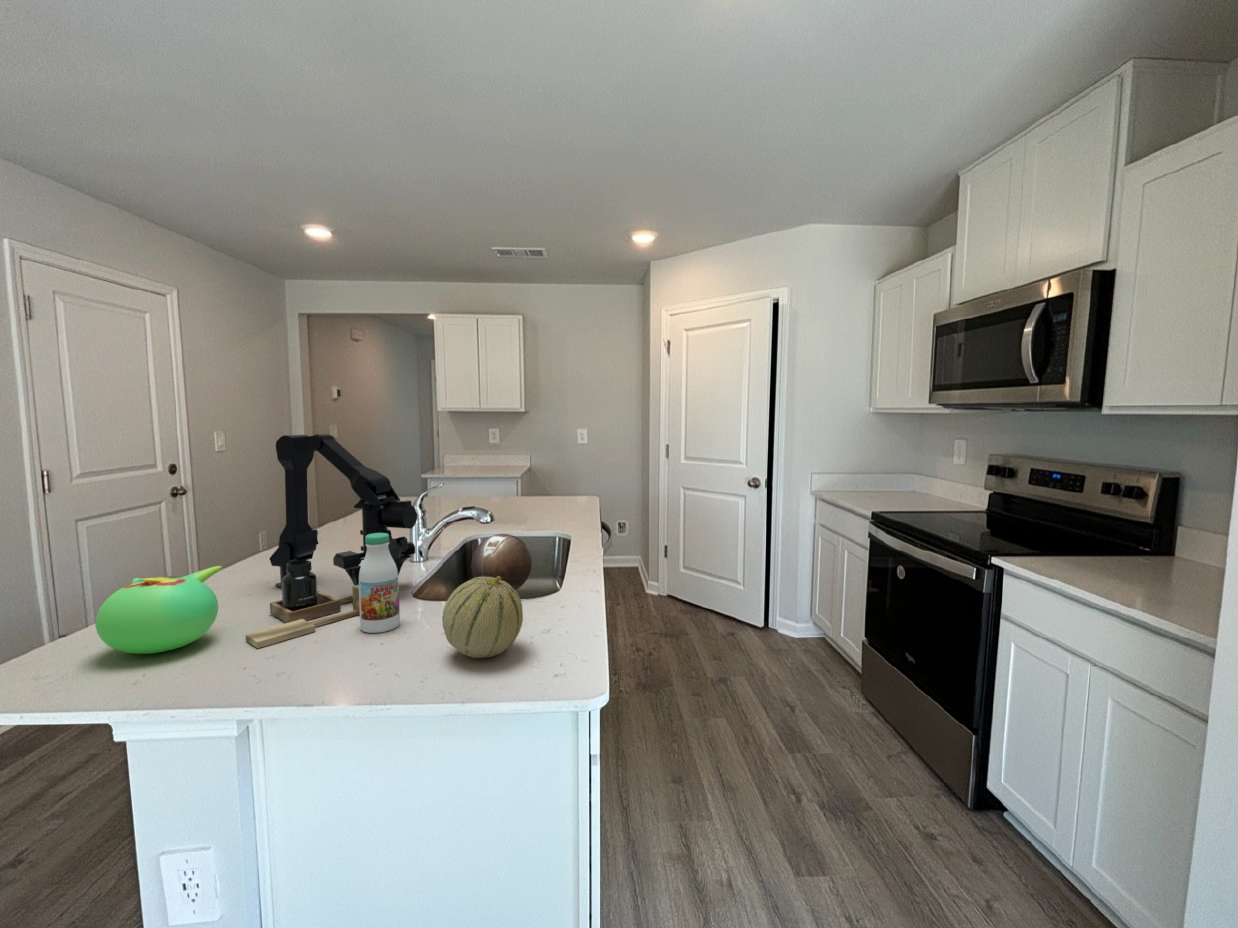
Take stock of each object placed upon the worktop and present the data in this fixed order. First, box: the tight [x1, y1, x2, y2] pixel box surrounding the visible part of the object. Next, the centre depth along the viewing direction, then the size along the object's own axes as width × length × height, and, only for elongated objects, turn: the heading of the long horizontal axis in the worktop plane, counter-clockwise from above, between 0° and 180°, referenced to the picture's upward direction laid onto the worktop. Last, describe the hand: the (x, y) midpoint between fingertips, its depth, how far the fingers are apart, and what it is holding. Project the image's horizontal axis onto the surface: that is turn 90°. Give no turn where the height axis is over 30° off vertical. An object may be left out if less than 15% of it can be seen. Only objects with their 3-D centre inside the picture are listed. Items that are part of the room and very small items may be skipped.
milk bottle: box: [359, 533, 401, 634], centre depth 115 cm, size 8×8×20 cm
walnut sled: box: [269, 590, 353, 623], centre depth 128 cm, size 11×24×6 cm, turn 143°
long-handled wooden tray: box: [244, 585, 360, 649], centre depth 115 cm, size 6×24×6 cm, turn 143°
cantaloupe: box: [441, 576, 524, 659], centre depth 102 cm, size 15×15×15 cm
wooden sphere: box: [470, 533, 533, 591], centre depth 138 cm, size 15×15×15 cm
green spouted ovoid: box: [95, 565, 223, 655], centre depth 104 cm, size 18×17×15 cm
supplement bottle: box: [281, 559, 319, 612], centre depth 122 cm, size 7×7×12 cm
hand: (377, 587), depth 137 cm, fingers open, 9 cm apart
